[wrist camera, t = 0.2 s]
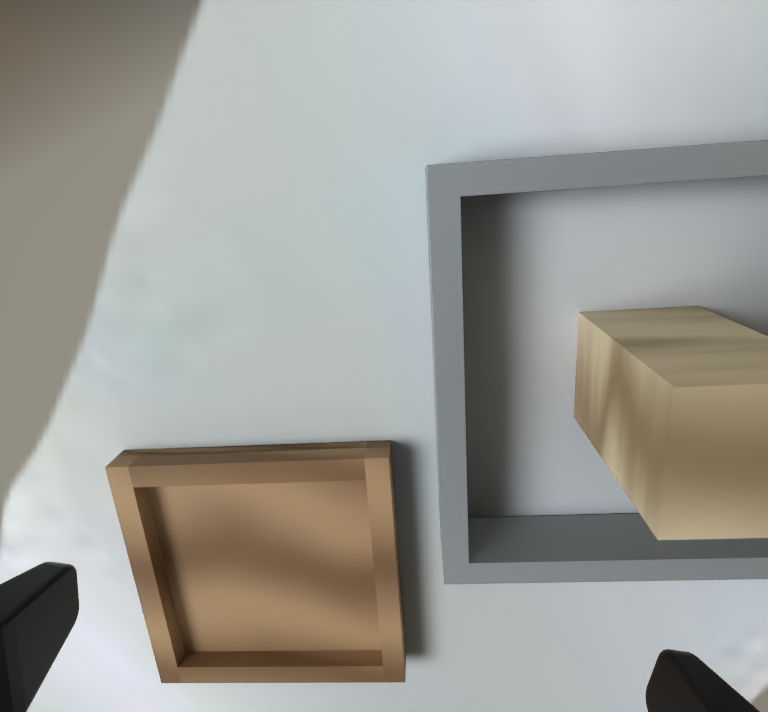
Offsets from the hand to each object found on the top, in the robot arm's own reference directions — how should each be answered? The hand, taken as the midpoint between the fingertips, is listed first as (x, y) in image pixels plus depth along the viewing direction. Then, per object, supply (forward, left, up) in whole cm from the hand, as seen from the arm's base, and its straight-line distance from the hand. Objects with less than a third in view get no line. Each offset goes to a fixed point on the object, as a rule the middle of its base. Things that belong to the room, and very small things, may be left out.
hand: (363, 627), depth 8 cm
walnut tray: (-10, +6, -14) cm, 19 cm away
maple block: (-1, -10, -14) cm, 17 cm away
